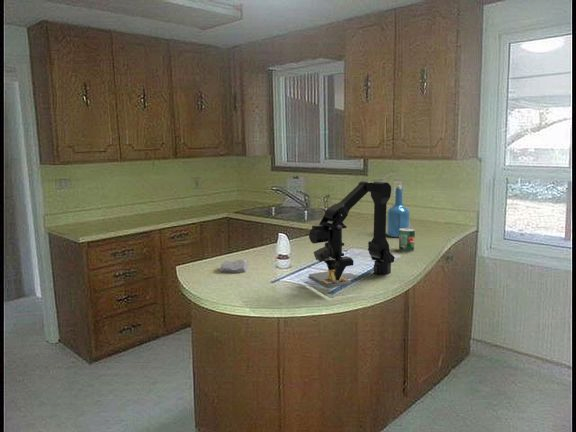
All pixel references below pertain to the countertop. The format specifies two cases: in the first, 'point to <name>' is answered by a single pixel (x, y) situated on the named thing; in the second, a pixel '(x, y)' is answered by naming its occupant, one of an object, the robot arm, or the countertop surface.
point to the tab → (349, 276)
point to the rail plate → (324, 280)
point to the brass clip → (333, 276)
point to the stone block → (234, 266)
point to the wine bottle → (397, 215)
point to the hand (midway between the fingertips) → (334, 278)
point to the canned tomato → (406, 239)
